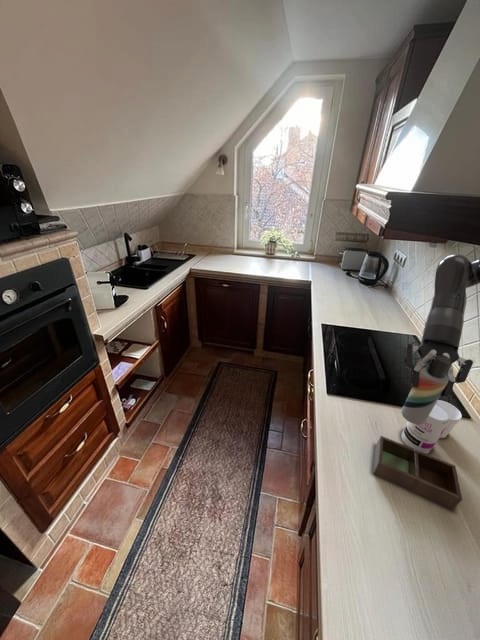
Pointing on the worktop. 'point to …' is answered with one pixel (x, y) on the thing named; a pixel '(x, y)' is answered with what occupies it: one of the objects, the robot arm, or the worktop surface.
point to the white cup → (450, 416)
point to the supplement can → (426, 430)
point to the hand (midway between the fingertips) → (428, 391)
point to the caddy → (417, 472)
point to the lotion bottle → (427, 390)
